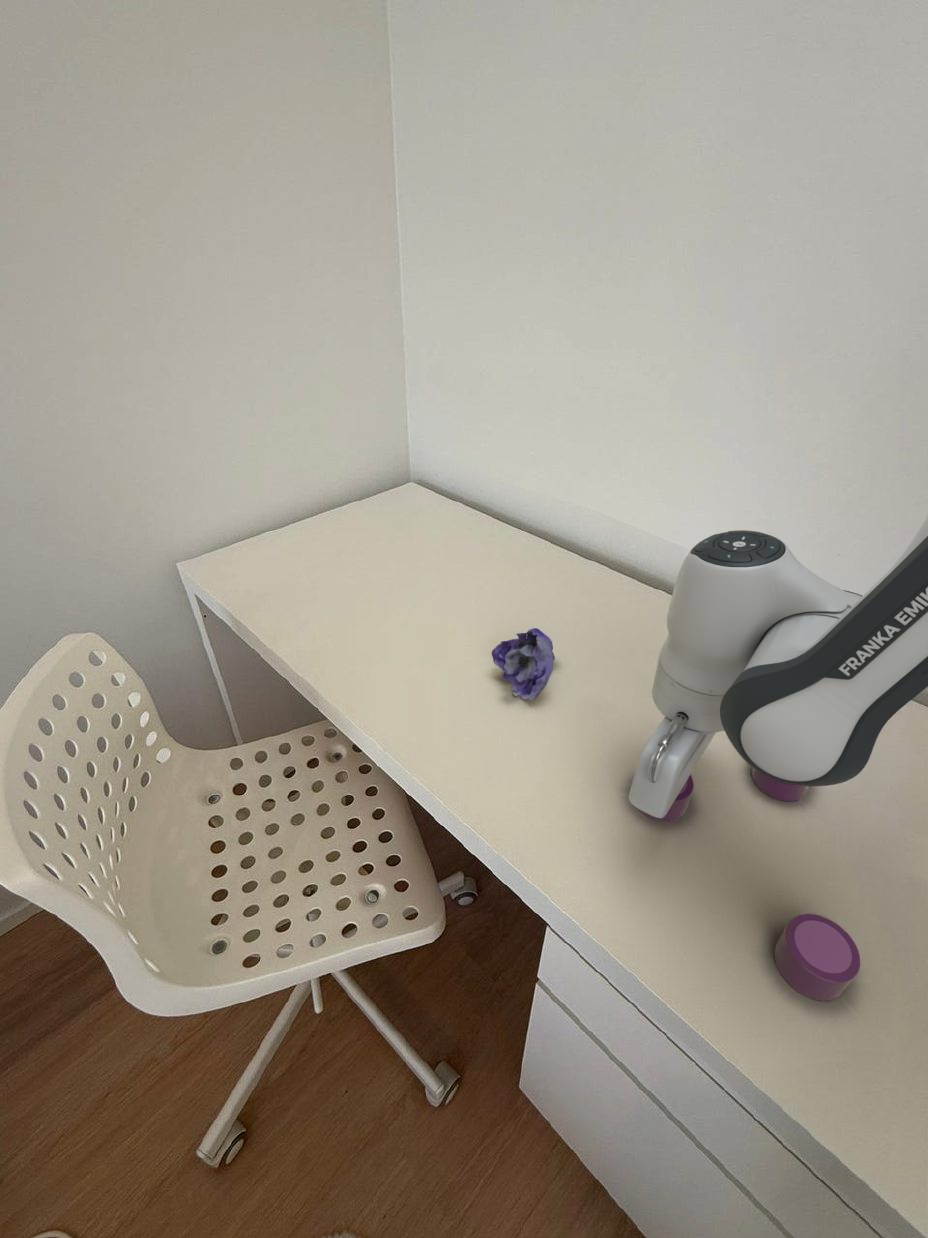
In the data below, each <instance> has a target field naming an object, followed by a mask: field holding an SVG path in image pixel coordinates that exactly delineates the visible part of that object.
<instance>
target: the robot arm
mask: <svg viewBox="0 0 928 1238" xmlns="http://www.w3.org/2000/svg"><path fill="white" fill-rule="evenodd" d="M666 627H667V636H666V639H665V640H664V642H663V643H662V645H661V648H660V650H659V653H658V654H659V655H658V658H657V664H656V667H655V668H656V669H655V674H654V679H653V683H652V687H651V696H652V700H653V702H654V705H655V706H656V708H657V709H658V711H660V713H661V714H662V715H663V716H664V718H663V719H662V720H661V722H660V723H659V725H658V726H657V728H656V729H655V731H653V733H652V735H651V736H650V737H649V739H648V740H647V742H646V743H645V745H644V747H643V749H642V752H641V753H640V756H639V759H638V762H637V765H636V768H635V772H634V775H633V778H632V782H631V787H630V789H629V793H628V800H629V803H630V804H631V805H632V806H633V807H635V808H636V809H638V810H639V809H640V810H641V811H643V812H645V813H647V814H649V815H651V816H654V817H657V818H663V817H664V816H665V815H666V814H667V812H668V811H669V809H670V807H671V806H672V804H673V802H674V801H675V799H676V797H677V796H678V794H679V792H680V791H681V789H682V788H683V786H684V784H685V783H686V781H687V779H688V778H689V776H690V775H691V774H692V772H694V770H695V768H696V767H697V764H698V763H699V762H700V760H701V758H702V756H703V755H704V753H705V752H706V750H707V748H708V747H709V745H710V744H711V742H712V740H713V738H714V737H715V735H716V733H719V732H723V731H724V732H725V734H726V736H727V738H728V740H729V742H730V743H731V745H732V746H733V748H734V749H735V750H736V752H737V753H738V755H739V756H740V757H741V758H742V759H743V761H745V762H746V763H747V764H748V765H749V766H750V767H752V769H753V768H754V769H756V770H757V771H758V772H760V773H762V774H763V775H765V776H767V777H769V778H772V779H774V780H777V781H779V782H783V783H786V784H791V785H797V786H809V787H810V788H811V787H827V786H833V785H838V784H843V783H845V782H848V781H850V780H852V779H853V778H855V777H856V776H858V775H859V774H860V773H861V772H862V771H863V770H864V769H865V767H866V766H867V764H868V762H869V760H870V758H871V755H872V752H873V750H874V747H875V744H876V742H877V739H878V738H879V735H880V734H881V731H882V730H883V729H884V727H885V725H886V724H887V723H888V722H889V720H891V718H893V716H894V715H896V714H897V713H898V712H899V711H900V710H901V709H903V708H904V706H906V705H907V704H908V703H910V702H911V701H912V700H913V699H914V698H916V697H917V696H918V695H919V694H920V693H922V692H923V691H924V690H926V689H927V688H928V514H927V515H926V517H925V519H924V520H923V522H922V524H921V526H920V527H919V529H918V531H917V533H916V534H915V535H914V537H913V538H912V540H911V541H910V543H909V544H908V546H907V547H906V548H905V550H904V552H902V554H901V556H900V557H898V559H897V560H896V562H895V563H893V565H892V566H891V567H890V568H889V569H888V570H887V571H886V572H885V573H884V574H883V576H881V577H880V578H879V579H878V580H877V581H876V582H875V583H874V584H873V585H872V586H871V587H870V588H869V589H868V590H867V591H866V592H865V593H864V594H859V593H857V592H853V591H850V590H845V589H842V588H840V587H838V586H836V585H834V584H832V583H830V582H828V581H827V580H825V579H824V578H822V577H820V576H819V575H818V574H816V573H814V572H813V571H811V570H810V569H808V568H807V567H806V566H805V565H804V564H803V563H801V562H800V561H799V560H798V559H797V558H796V556H795V555H794V554H793V552H792V550H791V549H790V548H789V546H788V545H787V544H786V543H785V542H784V541H783V540H781V539H780V538H777V537H776V536H774V535H770V534H767V533H764V532H761V531H756V530H742V529H741V530H740V529H739V530H728V531H724V532H719V533H715V534H712V535H710V536H708V537H706V538H704V539H702V540H700V541H699V542H698V543H696V544H695V545H694V546H693V547H692V548H691V549H690V550H689V551H688V552H687V555H685V558H684V559H683V562H682V564H681V567H680V569H679V571H678V575H677V577H676V581H675V584H674V588H673V591H672V594H671V598H670V603H669V606H668V611H667V617H666ZM640 810H639V811H640ZM641 811H640V812H641Z"/></svg>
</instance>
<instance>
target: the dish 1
mask: <svg viewBox="0 0 928 1238" xmlns="http://www.w3.org/2000/svg"><path fill="white" fill-rule="evenodd" d="M694 785H695V784H694V779H693V777H692V775H691V774H690V776H689V778H688V779H687V781H686V783H685V784H684V786H683V788H682V789H681V791H680V792H679V794H678V796H677V797H676V799H675V801H674V802H673V804H672V806H671V807H670V809H669V811H668V812H667V814H666V815H665V816H664V817H663V818H657V817H654V816H651V815H649V814H647V813H645V812H643V811H641V810H640V809H638V811H639V812H641V813H642V814H643V815H644V816H646V817H647V818H650V819H651V820H654V821H658V822H662V823H663V822H664V823H667V822H668V823H669V822H674V821H677V820H679V819H680V818H682V817H683V816H684V815H685V813H686V811H687V809H688V806H689V804H690V800H691V797H692V794H693V791H694Z"/></svg>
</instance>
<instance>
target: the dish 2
mask: <svg viewBox="0 0 928 1238" xmlns="http://www.w3.org/2000/svg"><path fill="white" fill-rule="evenodd" d="M773 955H774V961H775V964H776V967H777V970H778V971H779V973H780V975H781V976H782V978H783V979H784V981H785V982H786V983H787V984H788V985H789V986H790V987H791V988H792V989H793V990H795V991H796V992H798V993H799V994H801V995H802V996H805V997H806V998H809V999H811V1000H815V1001H821V1002H827V1001H828V1002H829V1001H834V1000H836V999H837V998H839V997H840V996H841V995H842V994H843V993H844V992H845V990H847V988H848V987H849V985H850V984H851V982H852V981H853V980H854V979H855V978H856V976H857V975H858V973H859V971H860V969H861V956H860V952H859V949H858V946H857V945H856V943H855V942H854V940H853V937H851V935H850V934H849V933H848V932H847V931H846V930H845V929H844V928H843V927H842V926H840V925H839V924H837V923H836V922H835V921H833V920H832V919H829V918H828V917H825V916H823V915H819V914H816V913H815V914H814V913H802V914H798V915H796V916H794V917H792V919H790V920H789V922H788V923H787V925H786V926H785V928H784V930H783V932H782V933H781V935H780V937H779V938H778V940H777V942H776V944H775V947H774V954H773Z"/></svg>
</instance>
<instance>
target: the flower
mask: <svg viewBox="0 0 928 1238" xmlns="http://www.w3.org/2000/svg"><path fill="white" fill-rule="evenodd" d="M515 635H516V637H518V638H512V639H508V640H502V641H501V642H500V643H499V644H497V645H496V647H495V648H493V649H492V651H491V657H492V661H493V664H495V666H497V667H499V668H500V669H501V671H503V674H502V679H503V680H504V681H506V682H510V683H511V685H512V687H511V688H510V691H514V692H512V693H511V695H512V696H514V697H517V696H520V697H521V699H522V700H528V701H533V700H534V699H536V698H537V697H538V696H539V695H540V694H541V693H542V691H544V689H545V687H547V684H548V681H549V680H550V678H551V675H552V674H553V666H554V661H555V659H556V656H555V652H554V651H553V650H554V644H553V640H552V639H551V638H550V637H549V636H548V635H547V634H545V633H544V632H543V631H542V630H540V628H537V627H536V628H535V627H534V628H530V629H528V630H527V631H526V632H519V633H516V634H515Z"/></svg>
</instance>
